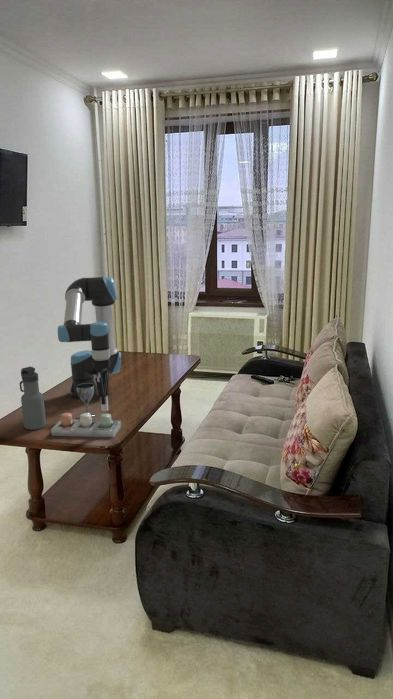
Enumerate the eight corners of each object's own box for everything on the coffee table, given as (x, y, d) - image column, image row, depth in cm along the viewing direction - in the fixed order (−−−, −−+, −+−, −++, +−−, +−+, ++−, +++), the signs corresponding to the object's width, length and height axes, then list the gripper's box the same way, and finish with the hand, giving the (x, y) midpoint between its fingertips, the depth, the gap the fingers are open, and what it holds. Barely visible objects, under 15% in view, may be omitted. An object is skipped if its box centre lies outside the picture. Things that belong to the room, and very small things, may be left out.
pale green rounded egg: (102, 423, 228) (101, 413, 227) (113, 424, 227) (112, 413, 226) (98, 428, 223) (98, 417, 222) (109, 428, 222) (109, 417, 221)
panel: (61, 425, 234) (61, 418, 233) (120, 426, 231) (120, 420, 230) (51, 435, 223) (51, 429, 222) (113, 437, 219) (113, 430, 219)
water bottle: (20, 426, 234) (13, 368, 227) (39, 420, 240) (33, 363, 234) (30, 432, 227) (23, 372, 220) (50, 426, 233) (44, 367, 227)
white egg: (82, 423, 229) (82, 413, 228) (93, 423, 228) (92, 413, 227) (79, 427, 224) (78, 417, 223) (90, 428, 223) (89, 417, 222)
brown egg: (63, 423, 230) (62, 412, 229) (74, 423, 229) (73, 412, 228) (59, 427, 225) (58, 416, 224) (70, 427, 225) (69, 417, 223)
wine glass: (89, 418, 241) (87, 388, 237) (75, 417, 244) (73, 387, 240) (98, 413, 248) (96, 383, 244) (85, 411, 251) (82, 382, 247)
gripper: (97, 354, 224) (101, 405, 230) (87, 362, 212) (92, 415, 217) (113, 354, 223) (117, 405, 229) (105, 362, 211) (109, 415, 216)
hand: (104, 410), depth 223 cm, fingers closed
